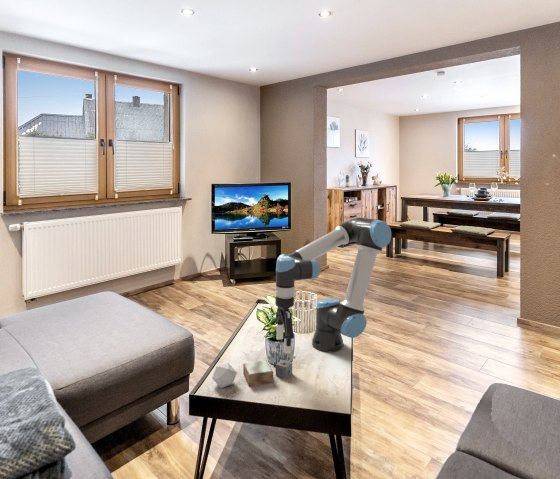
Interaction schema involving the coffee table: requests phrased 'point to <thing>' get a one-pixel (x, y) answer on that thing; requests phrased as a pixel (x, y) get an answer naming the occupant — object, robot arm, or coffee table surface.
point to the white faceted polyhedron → (224, 375)
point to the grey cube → (284, 369)
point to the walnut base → (257, 373)
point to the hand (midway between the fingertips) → (283, 345)
